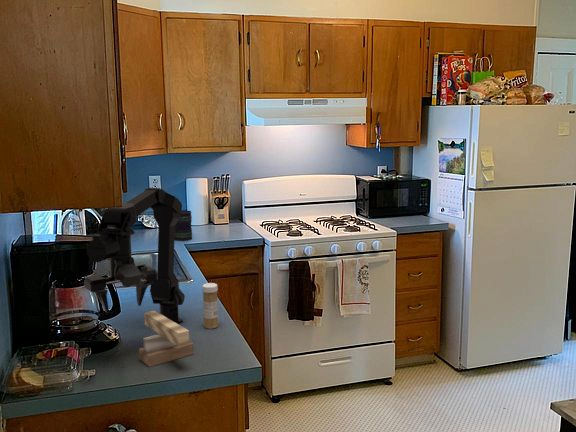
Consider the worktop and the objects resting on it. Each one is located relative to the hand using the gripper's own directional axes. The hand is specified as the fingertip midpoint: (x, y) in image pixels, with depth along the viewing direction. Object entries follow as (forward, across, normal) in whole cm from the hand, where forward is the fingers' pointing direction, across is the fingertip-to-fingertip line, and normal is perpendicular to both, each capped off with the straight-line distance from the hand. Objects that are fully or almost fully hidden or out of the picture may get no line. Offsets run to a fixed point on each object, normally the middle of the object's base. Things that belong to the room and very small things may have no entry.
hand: (123, 309), depth 155 cm
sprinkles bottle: (+12, +28, +1) cm, 31 cm away
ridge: (+12, +7, -11) cm, 18 cm away
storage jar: (+12, +84, +123) cm, 149 cm away
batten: (+6, +7, -11) cm, 14 cm away
